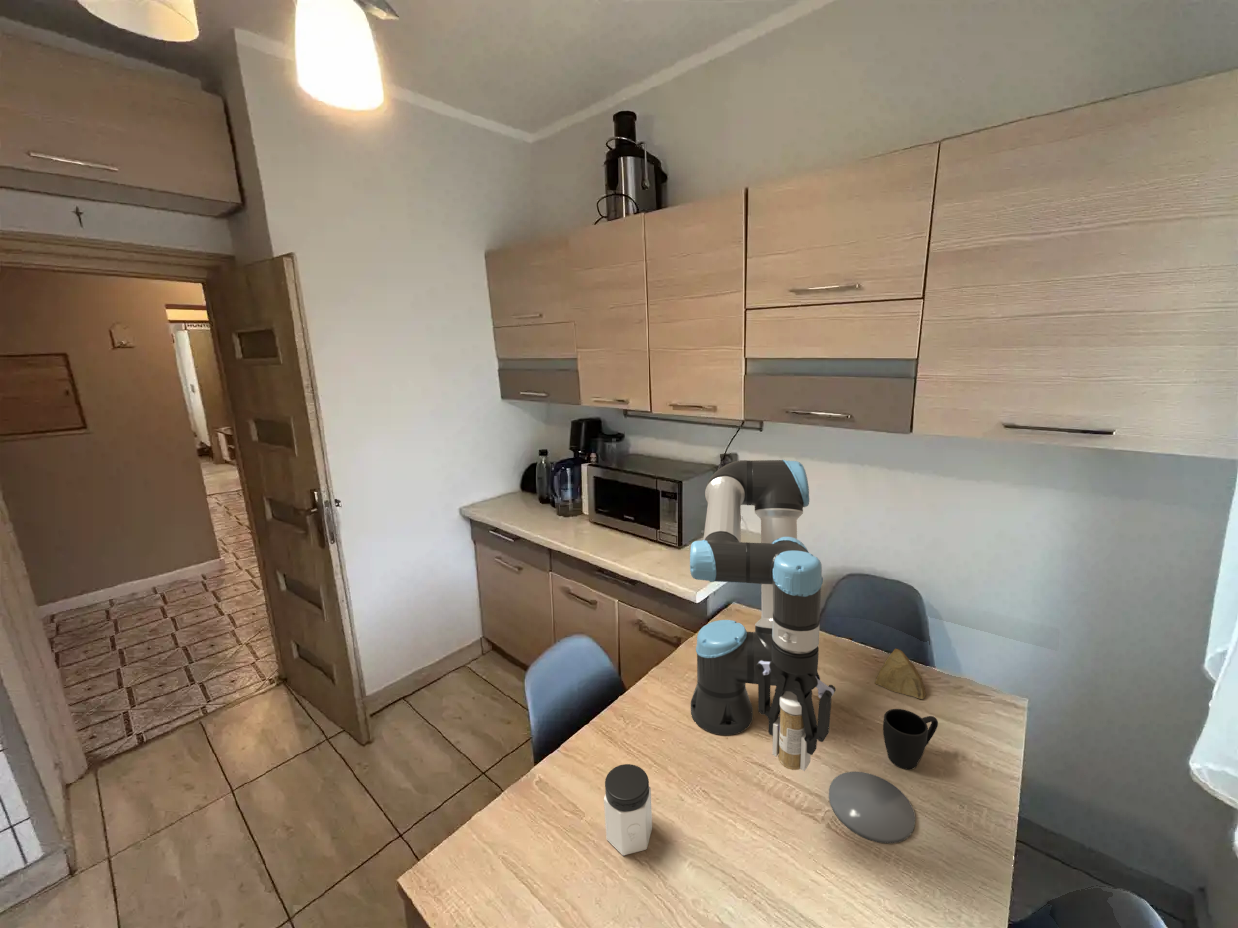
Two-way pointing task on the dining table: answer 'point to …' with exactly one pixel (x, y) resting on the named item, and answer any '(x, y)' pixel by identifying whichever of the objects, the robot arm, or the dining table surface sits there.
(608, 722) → the dining table surface
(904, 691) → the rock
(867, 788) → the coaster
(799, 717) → the sprinkles bottle
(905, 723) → the mug
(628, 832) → the jar
